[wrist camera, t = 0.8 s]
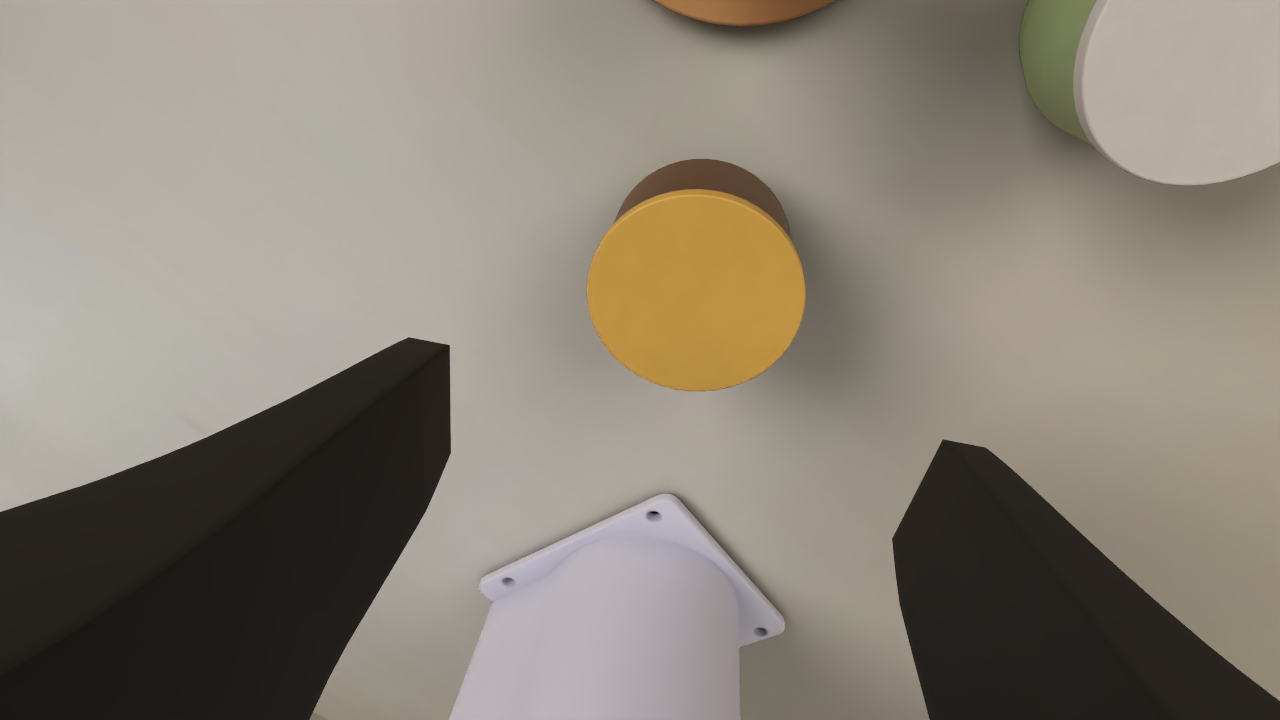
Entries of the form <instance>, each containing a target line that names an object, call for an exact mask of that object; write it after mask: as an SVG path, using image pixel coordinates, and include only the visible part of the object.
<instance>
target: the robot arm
mask: <svg viewBox="0 0 1280 720" xmlns="http://www.w3.org/2000/svg"><path fill="white" fill-rule="evenodd" d="M450 453H451V433H450V345H446V344H440V343H435V342H430V341H425V340H419V339H414V338H407V339H404V340H402V341H400V342H398V343H396V344H394V345H392V346H390V347H388V348H386V349H384V350H382V351H380V352H378V353H376V354H374V355H372V356H370V357H368V358H366V359H365V360H363V361H361V362H359V363H357V364H355V365H353V366H351V367H350V368H348V369H346V370H344V371H342V372H340V373H338V374H336V375H334V376H332V377H330V378H328V379H327V380H325V381H323V382H321V383H319V384H317V385H315V386H313V387H311V388H309V389H307V390H305V391H303V392H301V393H299V394H297V395H296V396H294V397H292V398H290V399H288V400H286V401H284V402H282V403H280V404H277V405H275V406H273V407H271V408H269V409H267V410H265V411H262V412H260V413H258V414H256V415H254V416H252V417H250V418H247V419H245V420H243V421H241V422H239V423H237V424H234V425H232V426H230V427H228V428H226V429H224V430H222V431H219V432H217V433H215V434H213V435H211V436H209V437H207V438H204V439H202V440H200V441H197V442H195V443H193V444H190V445H188V446H186V447H183V448H181V449H178V450H176V451H173V452H171V453H168V454H166V455H163V456H161V457H159V458H156V459H153V460H151V461H148V462H145V463H143V464H140V465H137V466H135V467H132V468H129V469H127V470H124V471H122V472H119V473H116V474H114V475H111V476H108V477H106V478H103V479H100V480H97V481H94V482H92V483H89V484H86V485H83V486H80V487H77V488H74V489H71V490H68V491H64V492H61V493H58V494H55V495H52V496H49V497H46V498H43V499H40V500H36V501H33V502H30V503H27V504H24V505H21V506H18V507H15V508H12V509H8V510H5V511H2V512H0V720H309V719H310V717H311V715H312V713H313V710H314V708H315V706H316V704H317V702H318V700H319V698H320V696H321V694H322V691H323V689H324V687H325V685H326V683H327V681H328V679H329V677H330V675H331V673H332V671H333V669H334V667H335V666H336V664H337V662H338V660H339V658H340V656H341V655H342V653H343V651H344V649H345V647H346V645H347V643H348V642H349V640H350V638H351V637H352V635H353V633H354V632H355V630H356V628H357V627H358V625H359V623H360V622H361V620H362V618H363V617H364V615H365V613H366V612H367V610H368V608H369V607H370V605H371V603H372V602H373V600H374V598H375V597H376V595H377V593H378V591H379V590H380V588H381V586H382V585H383V583H384V581H385V580H386V578H387V576H388V575H389V573H390V571H391V570H392V568H393V566H394V565H395V563H396V561H397V560H398V558H399V556H400V555H401V553H402V551H403V549H404V548H405V546H406V544H407V543H408V541H409V539H410V538H411V536H412V534H413V532H414V531H415V529H416V527H417V526H418V524H419V522H420V520H421V519H422V517H423V515H424V513H425V512H426V510H427V507H428V505H429V503H430V501H431V498H432V496H433V494H434V492H435V489H436V487H437V485H438V482H439V480H440V478H441V475H442V473H443V470H444V468H445V465H446V463H447V461H448V458H449V456H450ZM650 511H656V512H658V513H659V514H653V513H651V512H650ZM892 541H893V551H894V561H895V571H896V579H897V587H898V594H899V601H900V607H901V611H902V615H903V619H904V623H905V627H906V631H907V635H908V639H909V643H910V646H911V650H912V654H913V658H914V662H915V666H916V669H917V673H918V677H919V681H920V684H921V688H922V692H923V696H924V699H925V703H926V707H927V711H928V714H929V718H930V720H1280V701H1279V700H1277V699H1276V698H1275V697H1273V696H1272V695H1271V694H1269V693H1268V692H1267V691H1266V690H1264V689H1263V688H1262V687H1260V686H1259V685H1258V684H1256V683H1255V682H1254V681H1252V680H1251V679H1250V678H1249V677H1247V676H1246V675H1245V674H1243V673H1242V672H1241V671H1239V670H1238V669H1237V668H1236V667H1234V666H1233V665H1232V664H1231V663H1229V662H1228V661H1227V660H1226V659H1224V658H1223V657H1222V656H1221V655H1219V654H1218V653H1217V652H1216V651H1215V650H1213V649H1212V648H1211V647H1210V646H1208V645H1207V644H1206V643H1205V642H1203V641H1202V640H1201V639H1200V638H1199V637H1198V636H1196V635H1195V634H1194V633H1193V632H1192V631H1191V630H1189V629H1188V628H1187V627H1186V626H1185V625H1183V624H1182V623H1181V622H1180V621H1179V620H1178V619H1176V618H1175V617H1174V616H1173V615H1172V614H1171V613H1169V612H1168V611H1167V610H1166V609H1165V608H1163V607H1162V606H1161V605H1160V604H1159V603H1158V602H1156V601H1155V600H1154V599H1153V598H1152V597H1151V596H1149V595H1148V594H1147V593H1146V592H1145V591H1144V590H1143V589H1142V588H1140V587H1139V586H1138V585H1137V584H1136V583H1135V582H1134V581H1133V580H1131V579H1130V578H1129V577H1128V576H1127V575H1126V574H1125V573H1124V572H1122V571H1121V570H1120V569H1119V568H1118V567H1117V566H1116V565H1115V564H1114V563H1113V562H1111V561H1110V560H1109V559H1108V558H1107V557H1106V556H1105V555H1104V554H1103V553H1102V552H1100V551H1099V550H1098V549H1097V548H1096V547H1095V546H1094V545H1093V544H1092V543H1091V542H1090V541H1089V540H1087V539H1086V538H1085V537H1084V536H1083V535H1082V534H1081V533H1080V532H1079V531H1078V530H1077V529H1076V528H1075V527H1073V526H1072V525H1071V524H1070V523H1069V522H1068V521H1067V520H1066V519H1065V518H1064V517H1063V516H1062V515H1061V514H1060V513H1059V512H1057V511H1056V510H1055V509H1054V508H1053V507H1052V506H1051V505H1050V504H1049V503H1048V502H1047V501H1046V500H1045V499H1044V498H1043V497H1041V496H1040V495H1039V494H1038V493H1037V492H1036V491H1035V490H1034V489H1033V488H1032V487H1031V486H1030V485H1028V484H1027V483H1026V482H1025V481H1024V480H1023V479H1022V478H1021V477H1020V476H1019V475H1018V474H1016V473H1015V472H1014V471H1013V470H1012V469H1011V468H1010V467H1009V466H1007V465H1006V464H1005V463H1004V462H1003V461H1002V460H1000V459H999V458H998V457H997V456H996V455H994V454H993V453H992V452H991V451H989V450H988V449H987V448H984V447H979V446H974V445H969V444H964V443H958V442H953V441H948V440H942V442H941V444H940V446H939V448H938V450H937V452H936V454H935V456H934V458H933V460H932V462H931V464H930V466H929V468H928V470H927V472H926V474H925V476H924V478H923V480H922V482H921V484H920V486H919V487H918V489H917V491H916V493H915V495H914V497H913V499H912V501H911V503H910V505H909V507H908V509H907V511H906V513H905V515H904V517H903V519H902V521H901V523H900V525H899V527H898V529H897V531H896V533H895V534H894V536H893V538H892ZM479 590H480V592H481V593H482V594H483V595H484V596H485V597H486V598H488V599H489V600H490V601H491V602H492V605H491V608H490V610H489V613H488V616H487V618H486V621H485V624H484V626H483V629H482V632H481V634H480V637H479V640H478V643H477V645H476V648H475V651H474V653H473V656H472V659H471V661H470V664H469V667H468V670H467V672H466V675H465V678H464V680H463V683H462V686H461V688H460V691H459V694H458V696H457V699H456V702H455V705H454V707H453V710H452V713H451V715H450V718H449V720H740V647H743V646H746V645H749V644H752V643H755V642H758V641H761V640H764V639H767V638H770V637H773V636H776V635H779V634H781V633H782V632H783V631H784V630H785V621H784V618H783V616H782V615H781V614H780V613H779V612H778V611H777V609H776V608H775V607H774V606H773V605H772V604H771V603H770V602H769V600H768V599H767V598H766V597H765V596H764V595H763V594H762V593H761V591H760V590H759V589H758V588H757V587H756V586H755V585H754V584H753V582H752V581H751V580H750V579H749V578H748V577H747V576H746V575H745V573H744V572H743V571H742V570H741V569H740V568H739V567H738V566H737V564H736V563H735V562H734V561H733V560H732V559H731V558H730V557H729V555H728V554H727V553H726V552H725V551H724V550H723V549H722V548H721V546H720V545H719V544H718V543H717V542H716V541H715V540H714V539H713V537H712V536H711V535H710V534H709V533H708V532H707V531H706V530H705V528H704V527H703V526H702V525H701V524H700V523H699V522H698V521H697V519H696V518H695V517H694V516H693V515H692V514H691V513H690V512H689V510H688V509H687V508H686V507H685V506H684V505H683V504H682V503H681V501H680V500H679V499H678V498H677V497H675V496H674V495H671V494H659V495H657V496H655V497H652V498H650V499H648V500H646V501H644V502H642V503H640V504H637V505H635V506H633V507H631V508H629V509H627V510H625V511H622V512H620V513H618V514H616V515H614V516H612V517H610V518H607V519H605V520H603V521H601V522H599V523H597V524H595V525H592V526H590V527H588V528H586V529H584V530H582V531H579V532H577V533H575V534H573V535H571V536H569V537H567V538H564V539H562V540H560V541H558V542H556V543H554V544H552V545H549V546H547V547H545V548H543V549H541V550H539V551H537V552H534V553H532V554H530V555H528V556H526V557H524V558H522V559H519V560H517V561H515V562H513V563H511V564H509V565H507V566H504V567H502V568H500V569H498V570H496V571H494V572H492V573H489V574H487V575H485V576H484V577H482V579H481V582H480V584H479Z"/></svg>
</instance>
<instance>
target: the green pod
mask: <svg viewBox="0 0 1280 720" xmlns="http://www.w3.org/2000/svg"><path fill="white" fill-rule="evenodd" d="M1019 53H1020V59H1021V65H1022V68H1023V71H1024V77H1025V82H1026V85H1027V88H1028V91H1029V94H1030V96H1031V98H1032V100H1033V101H1034V103H1035V105H1036V107H1037V108H1038V109H1039V110H1040V112H1041V113H1042V114H1043V115H1044V116H1045V117H1046V118H1047V119H1048V120H1049V121H1050V122H1051V123H1052V124H1054V125H1055V126H1057V127H1059V128H1060V129H1062V130H1063V131H1065V132H1067V133H1069V134H1071V135H1073V136H1074V137H1076V138H1078V139H1080V140H1082V141H1084V142H1086V143H1088V144H1089V145H1091V146H1093V147H1095V148H1096V150H1097V151H1098V152H1099V153H1100V154H1101V155H1103V156H1104V157H1105V158H1106V159H1107V160H1108V161H1110V162H1111V163H1113V164H1114V165H1116V166H1118V167H1119V168H1121V169H1123V170H1124V171H1126V172H1128V173H1130V174H1132V175H1135V176H1137V177H1139V178H1142V179H1144V180H1148V181H1152V182H1156V183H1160V184H1167V185H1176V186H1198V185H1206V184H1214V183H1220V182H1224V181H1229V180H1233V179H1237V178H1241V177H1244V176H1247V175H1250V174H1253V173H1256V172H1259V171H1261V170H1263V169H1266V168H1268V167H1270V166H1273V165H1275V164H1277V163H1280V0H1029V3H1028V5H1027V8H1026V11H1025V14H1024V16H1023V20H1022V25H1021V29H1020V39H1019Z"/></svg>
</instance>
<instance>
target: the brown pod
mask: <svg viewBox="0 0 1280 720" xmlns="http://www.w3.org/2000/svg"><path fill="white" fill-rule="evenodd" d="M587 300H588V308H589V312H590V316H591V319H592V322H593V324H594V327H595V329H596V331H597V333H598V335H599V337H600V339H601V340H602V342H603V343H604V345H605V346H606V347H607V349H608V350H609V352H610V353H611V354H612V355H613V356H614V357H615V358H616V359H617V360H618V361H619V362H620V363H621V364H623V365H624V366H625V367H626V368H628V369H629V370H630V371H632V372H634V373H635V374H637V375H638V376H640V377H642V378H644V379H646V380H648V381H650V382H653V383H655V384H658V385H661V386H664V387H668V388H672V389H677V390H684V391H712V390H719V389H724V388H728V387H732V386H735V385H738V384H741V383H743V382H745V381H747V380H750V379H752V378H754V377H755V376H757V375H759V374H760V373H762V372H764V371H765V370H766V369H767V368H769V367H770V366H771V365H773V364H774V363H775V362H776V361H777V360H778V359H779V358H780V357H781V356H782V355H783V353H784V352H785V351H786V350H787V348H788V347H789V346H790V344H791V343H792V341H793V339H794V337H795V336H796V334H797V332H798V329H799V327H800V324H801V322H802V318H803V314H804V310H805V301H806V286H805V278H804V274H803V269H802V264H801V261H800V258H799V256H798V253H797V250H796V248H795V247H794V245H793V243H792V240H791V235H790V230H789V225H788V221H787V218H786V215H785V212H784V210H783V208H782V206H781V204H780V202H779V201H778V199H777V198H776V196H775V195H774V194H773V192H772V191H771V190H770V189H769V188H768V187H767V186H766V185H765V184H764V183H763V182H762V181H761V180H760V179H759V178H757V177H756V176H755V175H753V174H752V173H750V172H748V171H746V170H745V169H743V168H741V167H738V166H736V165H733V164H731V163H727V162H723V161H719V160H711V159H692V160H685V161H680V162H676V163H673V164H670V165H667V166H665V167H663V168H660V169H658V170H657V171H655V172H653V173H652V174H650V175H648V176H647V177H646V178H645V179H643V180H642V181H641V182H640V183H639V184H638V185H637V186H636V187H635V188H634V189H633V190H632V191H631V192H630V194H629V195H628V196H627V198H626V199H625V201H624V203H623V204H622V206H621V208H620V210H619V212H618V215H617V217H616V219H615V221H614V224H613V225H612V227H611V228H610V229H609V230H608V232H607V233H606V235H605V236H604V237H603V239H602V241H601V243H600V245H599V247H598V249H597V251H596V253H595V255H594V257H593V260H592V263H591V266H590V270H589V275H588V280H587Z"/></svg>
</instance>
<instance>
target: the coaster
mask: <svg viewBox="0 0 1280 720" xmlns="http://www.w3.org/2000/svg"><path fill="white" fill-rule="evenodd" d="M654 1H655V2H657V3H659V4H660V5H662V6H664V7H665V8H667V9H670V10H672V11H675V12H677V13H679V14H682V15H684V16H687V17H689V18H693V19H697V20H701V21H704V22H708V23H712V24H721V25H731V26H754V25H766V24H771V23H777V22H782V21H787V20H791V19H794V18H797V17H800V16H803V15H806V14H809V13H812V12H814V11H816V10H818V9H820V8H822V7H825V6H827V5H829V4H831V3H833V2H835V1H837V0H654Z"/></svg>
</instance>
